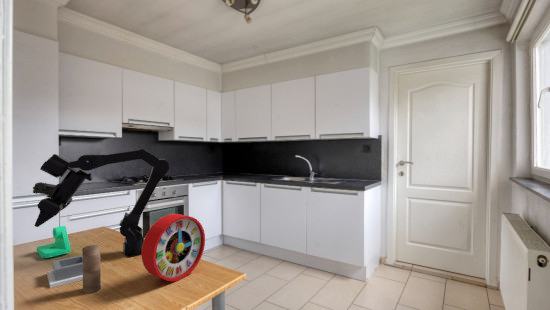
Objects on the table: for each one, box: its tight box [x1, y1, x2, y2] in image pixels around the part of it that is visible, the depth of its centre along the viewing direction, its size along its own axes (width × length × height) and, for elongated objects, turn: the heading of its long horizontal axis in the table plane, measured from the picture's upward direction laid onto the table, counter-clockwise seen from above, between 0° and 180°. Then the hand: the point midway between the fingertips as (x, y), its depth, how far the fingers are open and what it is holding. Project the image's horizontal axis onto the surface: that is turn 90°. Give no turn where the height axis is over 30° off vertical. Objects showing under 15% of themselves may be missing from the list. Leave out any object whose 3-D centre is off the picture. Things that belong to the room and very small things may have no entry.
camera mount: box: [36, 225, 72, 259], centre depth 111 cm, size 12×8×10 cm, turn 54°
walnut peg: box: [81, 244, 102, 295], centre depth 84 cm, size 4×4×12 cm
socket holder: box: [46, 254, 83, 289], centre depth 93 cm, size 12×12×4 cm
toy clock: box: [141, 213, 206, 282], centre depth 92 cm, size 20×6×20 cm, turn 147°
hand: (40, 223), depth 100 cm, fingers open, 9 cm apart
